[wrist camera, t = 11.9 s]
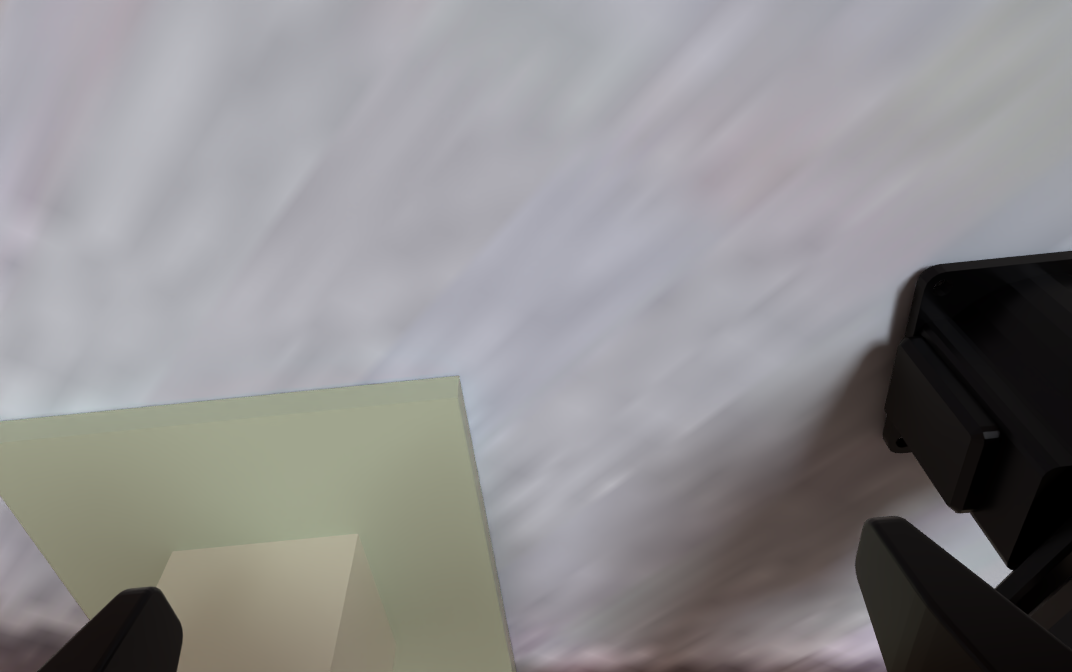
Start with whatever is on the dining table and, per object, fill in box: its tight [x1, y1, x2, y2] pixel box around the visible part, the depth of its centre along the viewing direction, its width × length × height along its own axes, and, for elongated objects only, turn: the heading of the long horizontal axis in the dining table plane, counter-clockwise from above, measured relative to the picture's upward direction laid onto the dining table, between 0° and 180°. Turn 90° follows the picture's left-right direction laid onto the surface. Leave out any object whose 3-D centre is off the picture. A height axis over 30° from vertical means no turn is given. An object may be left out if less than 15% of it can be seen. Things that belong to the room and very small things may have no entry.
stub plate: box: [0, 376, 516, 672], centre depth 25 cm, size 14×16×4 cm
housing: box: [157, 534, 396, 672], centre depth 23 cm, size 6×6×5 cm
